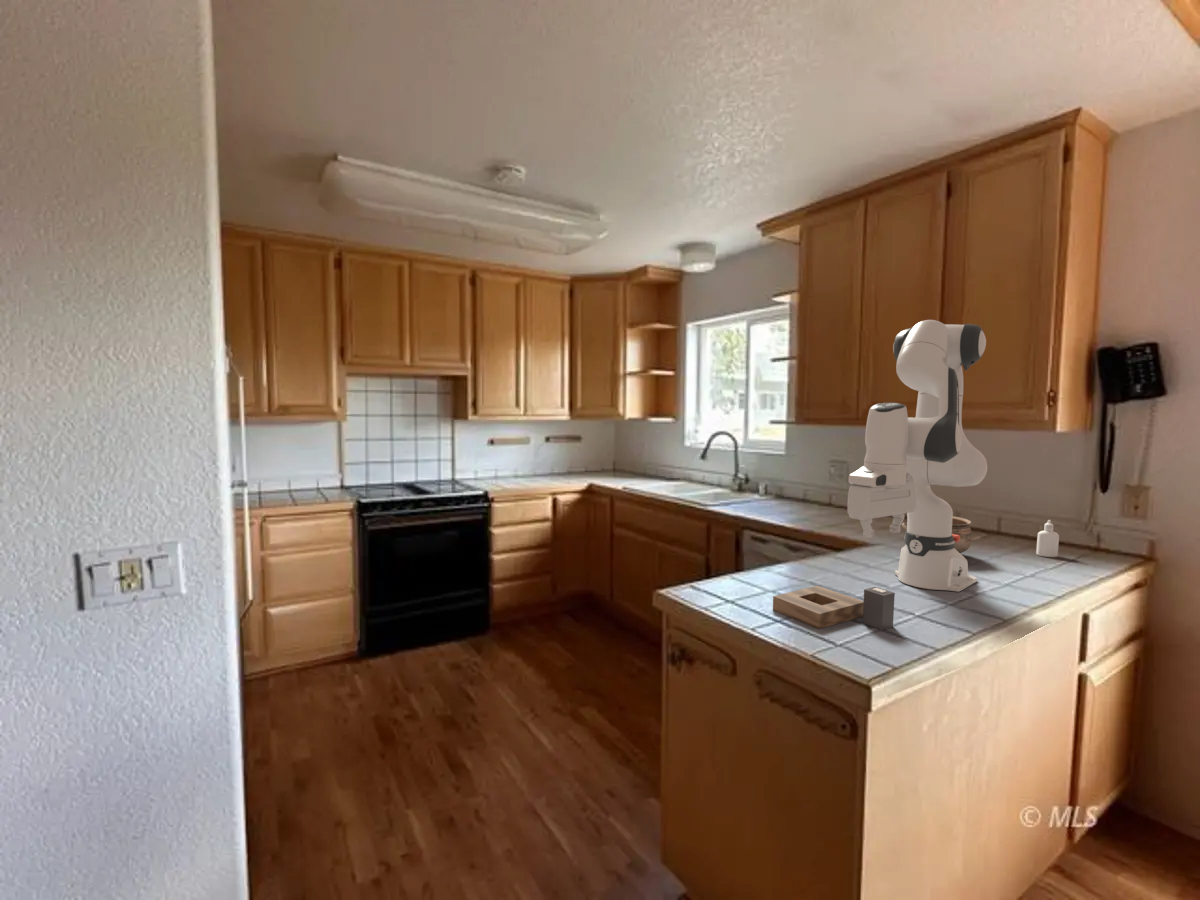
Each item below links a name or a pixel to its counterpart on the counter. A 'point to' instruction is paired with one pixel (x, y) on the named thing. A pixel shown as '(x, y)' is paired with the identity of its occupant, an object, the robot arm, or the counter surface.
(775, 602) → the dock
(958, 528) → the cooking pot
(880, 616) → the block
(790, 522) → the counter surface
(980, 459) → the robot arm
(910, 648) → the counter surface
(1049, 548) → the eye dropper bottle
